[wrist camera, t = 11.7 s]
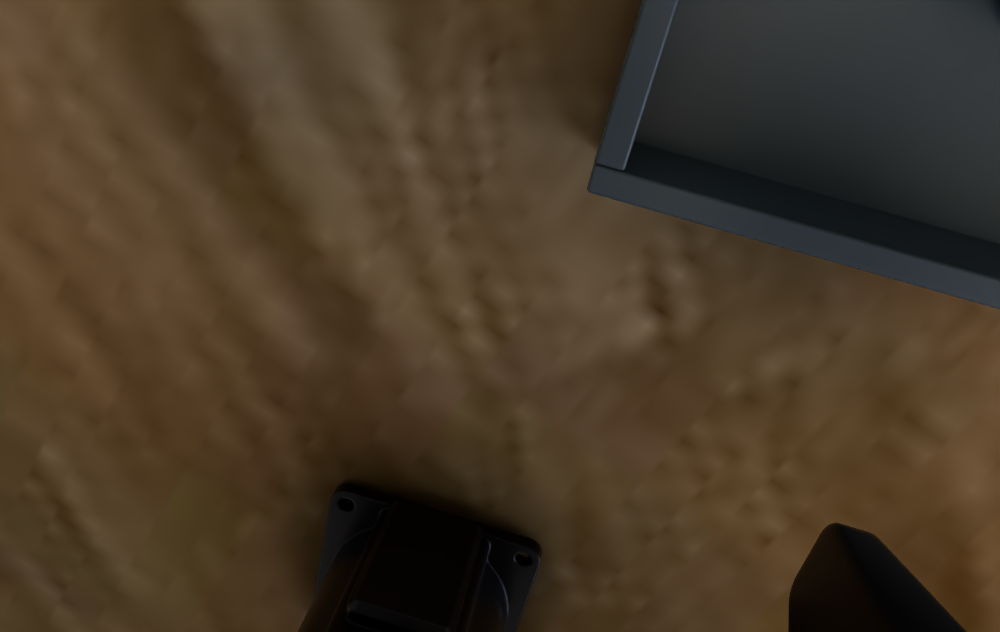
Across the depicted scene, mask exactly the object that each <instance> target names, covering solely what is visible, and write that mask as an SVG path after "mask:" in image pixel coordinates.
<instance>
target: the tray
mask: <svg viewBox="0 0 1000 632" xmlns="http://www.w3.org/2000/svg"><path fill="white" fill-rule="evenodd" d="M587 190H588V191H589V192H590V193H593V194H597V195H600V196H604V197H607V198H611V199H614V200H618V201H621V202H625V203H628V204H632V205H636V206H639V207H643V208H646V209H650V210H653V211H657V212H660V213H664V214H667V215H671V216H674V217H678V218H681V219H685V220H688V221H692V222H695V223H699V224H702V225H706V226H709V227H713V228H716V229H720V230H723V231H727V232H730V233H734V234H737V235H741V236H744V237H748V238H751V239H755V240H758V241H762V242H766V243H769V244H773V245H776V246H780V247H783V248H787V249H790V250H794V251H797V252H801V253H804V254H808V255H811V256H815V257H818V258H822V259H825V260H829V261H832V262H836V263H839V264H843V265H846V266H850V267H853V268H857V269H860V270H864V271H867V272H871V273H874V274H878V275H881V276H885V277H888V278H892V279H895V280H899V281H903V282H906V283H910V284H913V285H917V286H920V287H924V288H927V289H931V290H934V291H938V292H941V293H945V294H948V295H952V296H955V297H959V298H962V299H966V300H969V301H973V302H976V303H980V304H983V305H987V306H990V307H994V308H997V309H1000V0H642V2H641V6H640V9H639V12H638V16H637V19H636V22H635V26H634V29H633V32H632V36H631V39H630V43H629V46H628V49H627V53H626V56H625V59H624V63H623V66H622V69H621V73H620V76H619V79H618V83H617V86H616V90H615V93H614V96H613V100H612V103H611V106H610V110H609V113H608V116H607V120H606V123H605V126H604V130H603V133H602V136H601V140H600V143H599V147H598V150H597V154H596V157H595V161H594V165H593V169H592V172H591V176H590V180H589V183H588V187H587Z"/></svg>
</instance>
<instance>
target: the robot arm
mask: <svg viewBox="0 0 1000 632" xmlns="http://www.w3.org/2000/svg"><path fill="white" fill-rule="evenodd" d="M344 498H347V499H349V500H351V501H352V502H353V503H349V502H347V501H346V500H345V499H344ZM520 553H525V554H527V555H529V557H524V556H522V555H520ZM541 555H542V550H541V547H540V545H539V544H538V543H537V542H536V541H534V540H532V539H530V538H527V537H524V536H520V535H517V534H514V533H511V532H508V531H504V530H501V529H498V528H495V527H491V526H488V525H485V524H482V523H478V522H475V521H472V520H469V519H465V518H462V517H459V516H456V515H452V514H449V513H446V512H443V511H439V510H436V509H433V508H430V507H426V506H423V505H420V504H417V503H413V502H410V501H407V500H404V499H400V498H397V497H394V496H391V495H387V494H384V493H381V492H378V491H374V490H371V489H368V488H365V487H361V486H358V485H355V484H350V483H345V484H341V485H339V486H338V487H337V488H336V490H335V492H334V494H333V495H332V498H331V500H330V505H329V511H328V517H327V523H326V529H325V535H324V541H323V547H322V553H321V559H320V565H319V570H318V576H317V582H316V588H315V594H314V600H313V602H312V604H311V606H310V608H309V610H308V612H307V614H306V616H305V618H304V620H303V622H302V624H301V626H300V628H299V630H298V632H516V630H517V628H518V625H519V622H520V619H521V616H522V613H523V611H524V608H525V605H526V602H527V599H528V596H529V594H530V591H531V588H532V585H533V582H534V579H535V577H536V574H537V571H538V568H539V565H540V560H541ZM789 632H966V631H965V629H964V628H963V627H962V626H961V625H960V624H959V623H958V622H957V621H956V620H955V619H954V618H953V617H952V616H951V615H950V614H949V613H948V611H947V610H946V609H945V608H944V607H943V606H942V605H941V604H940V603H939V602H938V601H937V600H936V599H935V598H934V597H933V596H932V595H931V593H930V592H929V591H928V590H927V589H926V588H925V587H924V586H923V585H922V584H921V583H920V582H919V581H918V580H917V579H916V578H915V576H914V575H913V574H912V573H911V572H910V571H909V570H908V569H907V568H906V567H905V566H904V565H903V564H902V563H901V562H900V561H899V560H898V558H897V557H896V556H895V555H894V554H893V553H892V552H891V551H890V550H889V549H888V548H887V547H886V546H885V545H884V544H883V543H882V542H881V540H880V539H879V538H878V537H876V536H875V535H874V534H872V533H870V532H867V531H863V530H860V529H857V528H853V527H850V526H847V525H843V524H840V523H833V524H830V525H828V526H827V527H826V528H825V529H824V530H823V531H822V532H821V534H820V536H819V537H818V539H817V541H816V543H815V544H814V546H813V548H812V550H811V551H810V553H809V555H808V557H807V558H806V560H805V562H804V564H803V565H802V567H801V569H800V571H799V572H798V574H797V576H796V578H795V580H794V582H793V585H792V588H791V592H790V597H789Z"/></svg>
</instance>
